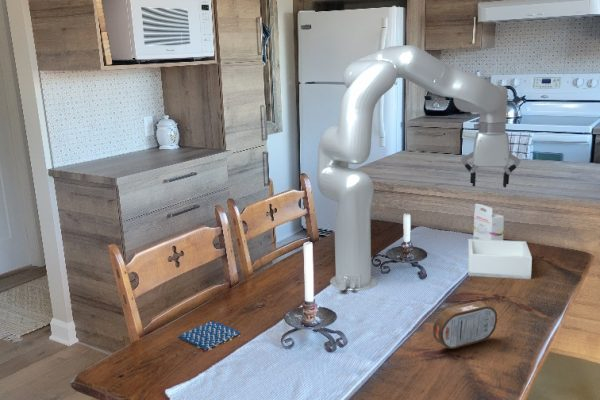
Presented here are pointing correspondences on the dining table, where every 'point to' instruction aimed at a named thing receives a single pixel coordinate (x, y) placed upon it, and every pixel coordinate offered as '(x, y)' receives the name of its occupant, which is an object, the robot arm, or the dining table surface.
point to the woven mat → (209, 335)
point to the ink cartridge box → (487, 224)
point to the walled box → (499, 259)
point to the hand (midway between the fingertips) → (489, 185)
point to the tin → (465, 324)
